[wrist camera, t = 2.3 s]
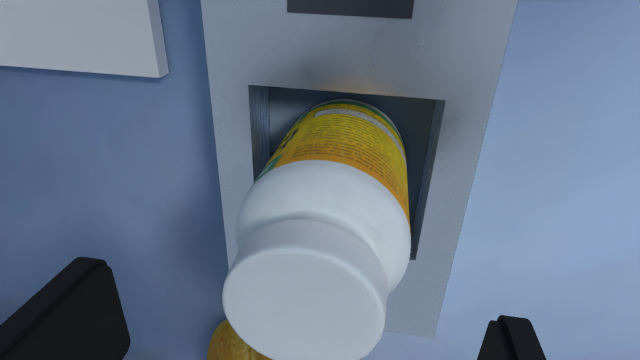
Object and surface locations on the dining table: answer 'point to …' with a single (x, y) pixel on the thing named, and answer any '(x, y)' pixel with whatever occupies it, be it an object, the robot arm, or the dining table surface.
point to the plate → (84, 36)
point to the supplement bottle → (322, 237)
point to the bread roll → (230, 345)
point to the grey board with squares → (366, 78)
